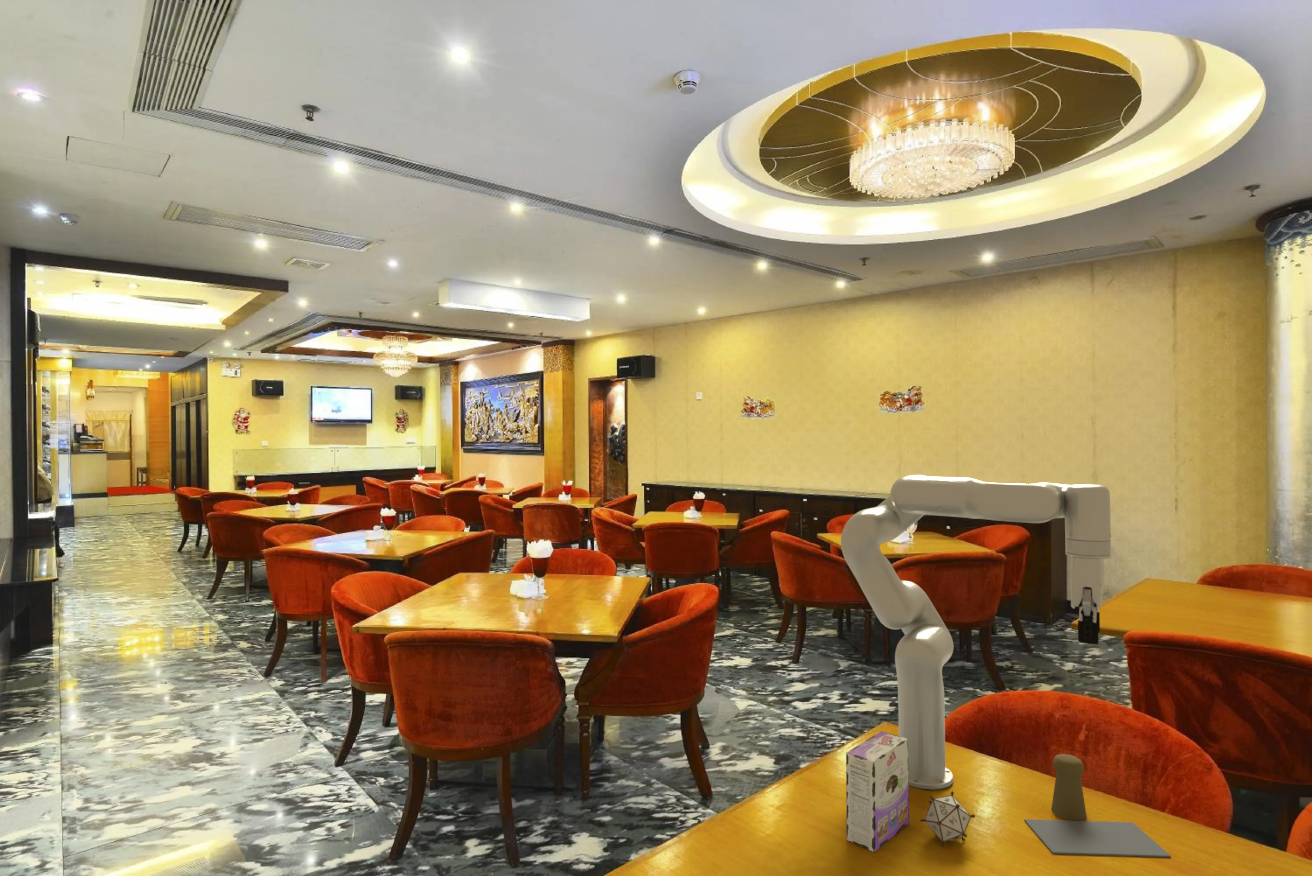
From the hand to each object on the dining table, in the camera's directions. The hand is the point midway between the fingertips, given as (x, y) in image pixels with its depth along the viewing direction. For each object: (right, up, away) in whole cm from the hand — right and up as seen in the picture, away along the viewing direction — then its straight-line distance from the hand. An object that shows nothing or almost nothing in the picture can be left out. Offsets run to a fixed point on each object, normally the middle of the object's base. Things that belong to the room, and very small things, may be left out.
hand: (1089, 637), depth 136 cm
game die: (-30, -36, -7) cm, 47 cm away
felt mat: (-3, -35, -6) cm, 36 cm away
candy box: (-42, -36, -4) cm, 55 cm away
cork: (-2, -36, +3) cm, 36 cm away
